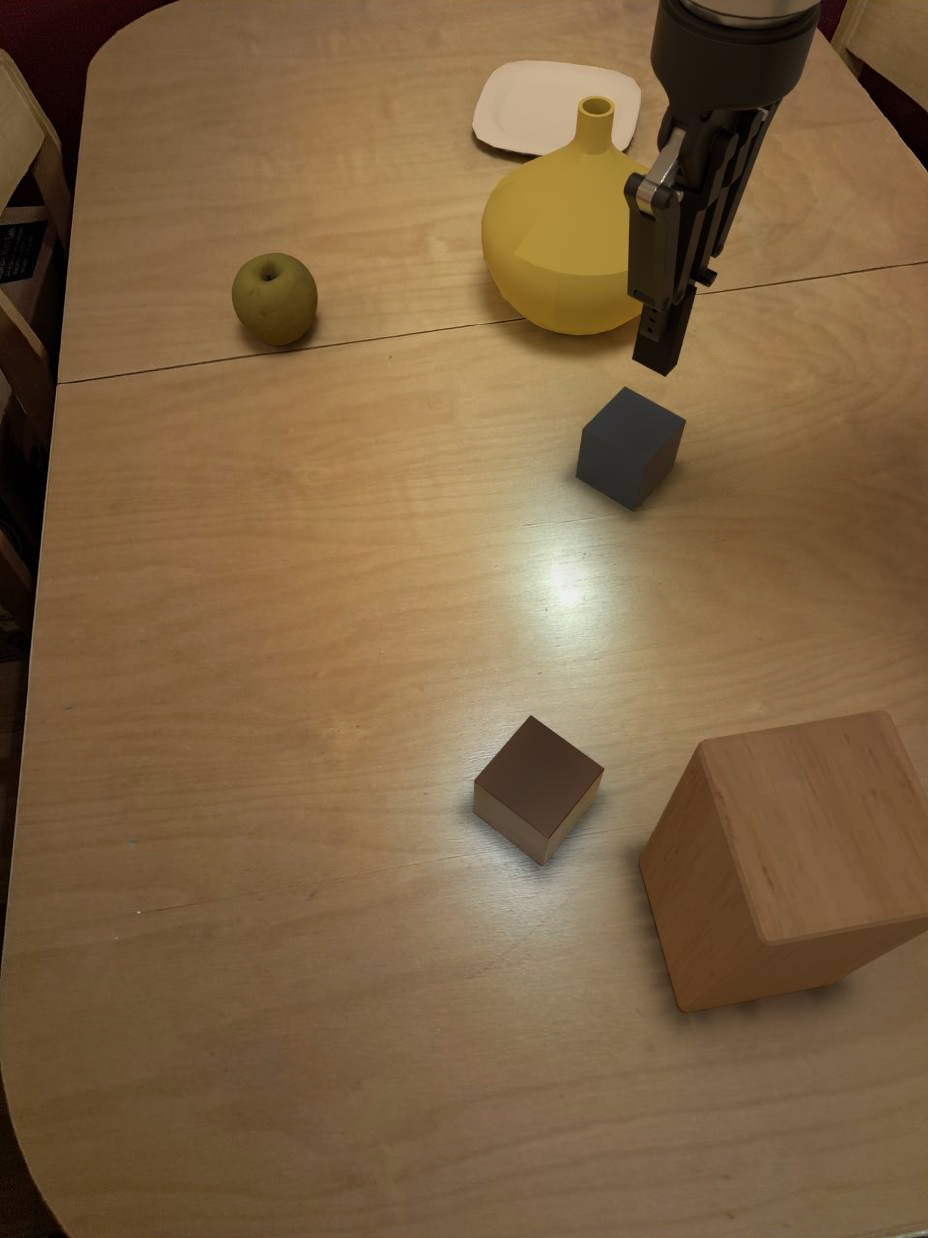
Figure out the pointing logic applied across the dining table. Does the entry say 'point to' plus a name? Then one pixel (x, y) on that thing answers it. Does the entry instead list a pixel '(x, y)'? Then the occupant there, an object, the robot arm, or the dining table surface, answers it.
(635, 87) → the plate
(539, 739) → the walnut block
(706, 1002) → the wooden block
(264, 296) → the apple
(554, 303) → the vase
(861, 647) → the dining table surface
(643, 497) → the slate block
